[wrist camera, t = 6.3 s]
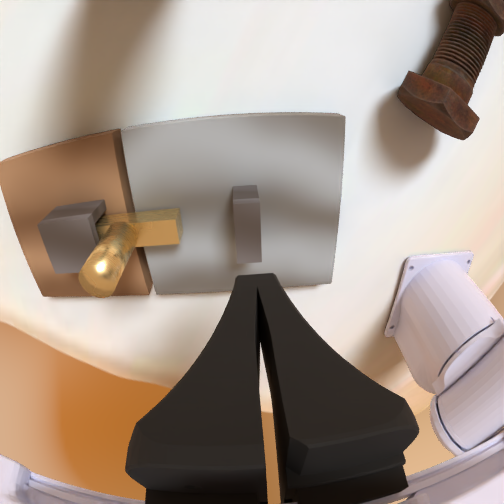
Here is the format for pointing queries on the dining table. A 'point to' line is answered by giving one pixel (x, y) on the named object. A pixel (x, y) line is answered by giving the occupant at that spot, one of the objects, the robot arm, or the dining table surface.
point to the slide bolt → (126, 245)
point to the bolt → (455, 68)
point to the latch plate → (186, 201)
